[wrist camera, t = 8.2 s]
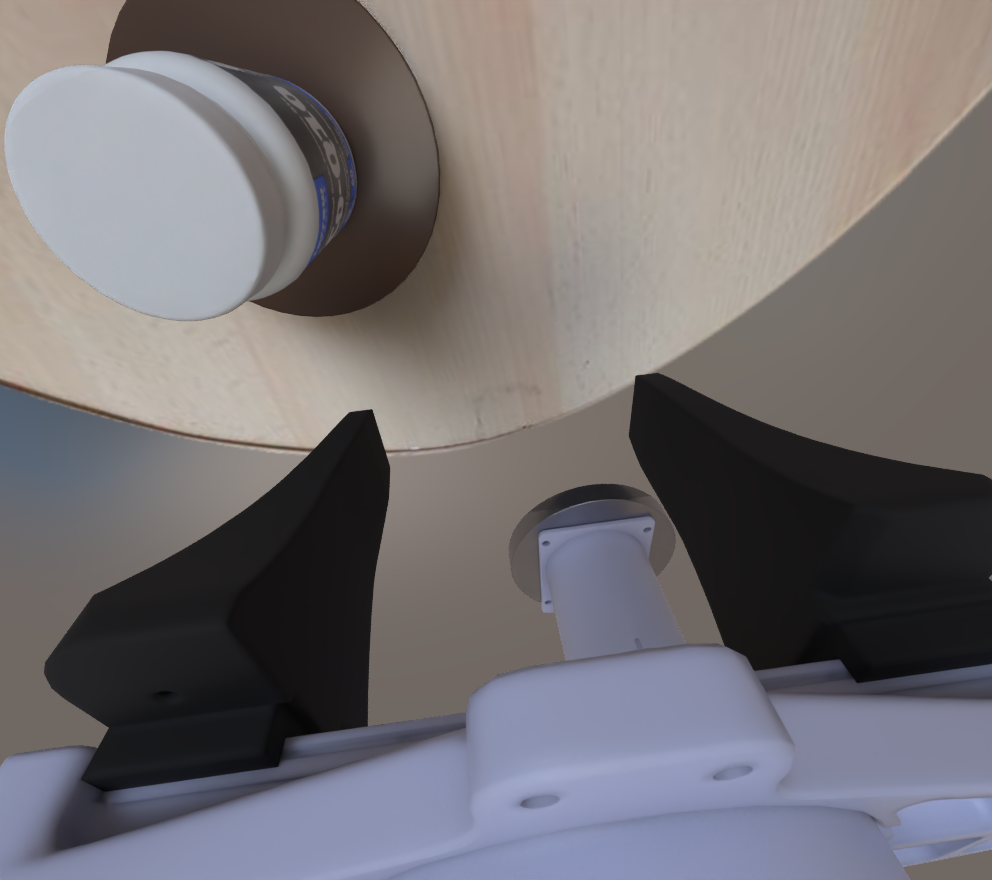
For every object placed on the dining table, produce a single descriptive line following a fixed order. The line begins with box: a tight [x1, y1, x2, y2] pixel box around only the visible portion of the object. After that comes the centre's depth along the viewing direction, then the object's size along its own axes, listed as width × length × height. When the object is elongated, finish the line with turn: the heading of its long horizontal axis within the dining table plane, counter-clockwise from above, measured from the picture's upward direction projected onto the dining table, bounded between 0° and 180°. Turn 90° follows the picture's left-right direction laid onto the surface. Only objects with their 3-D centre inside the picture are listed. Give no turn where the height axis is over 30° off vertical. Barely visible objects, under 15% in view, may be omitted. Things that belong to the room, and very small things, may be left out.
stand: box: [106, 0, 440, 317], centre depth 15 cm, size 10×10×2 cm
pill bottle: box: [4, 51, 357, 321], centre depth 11 cm, size 5×5×8 cm
